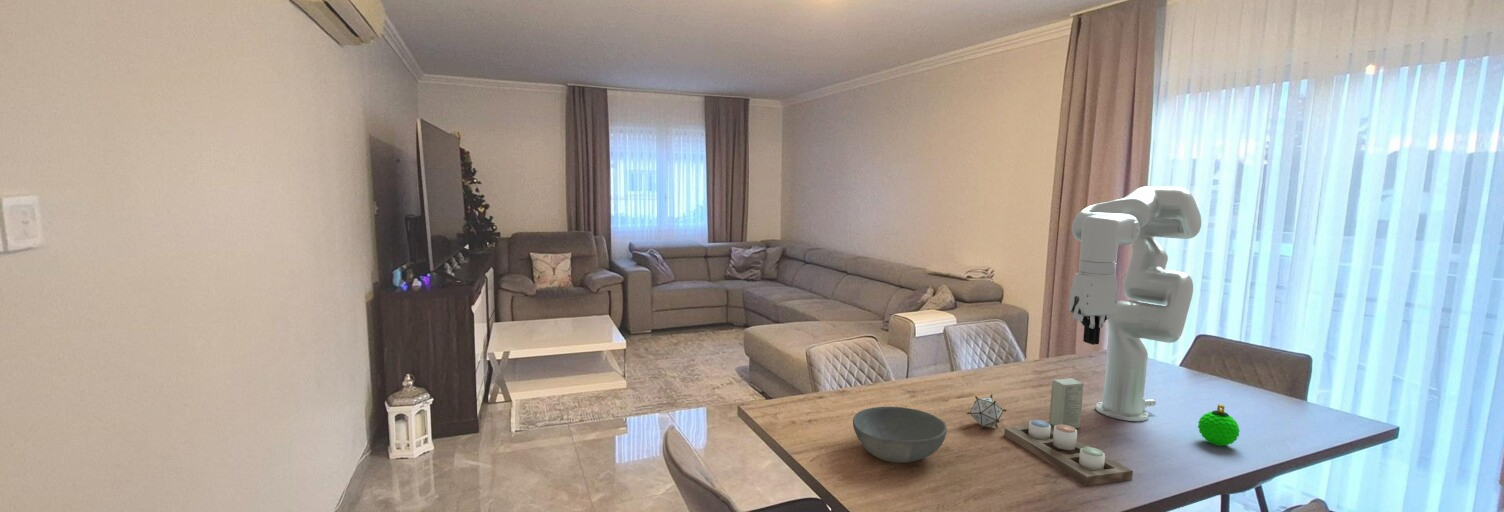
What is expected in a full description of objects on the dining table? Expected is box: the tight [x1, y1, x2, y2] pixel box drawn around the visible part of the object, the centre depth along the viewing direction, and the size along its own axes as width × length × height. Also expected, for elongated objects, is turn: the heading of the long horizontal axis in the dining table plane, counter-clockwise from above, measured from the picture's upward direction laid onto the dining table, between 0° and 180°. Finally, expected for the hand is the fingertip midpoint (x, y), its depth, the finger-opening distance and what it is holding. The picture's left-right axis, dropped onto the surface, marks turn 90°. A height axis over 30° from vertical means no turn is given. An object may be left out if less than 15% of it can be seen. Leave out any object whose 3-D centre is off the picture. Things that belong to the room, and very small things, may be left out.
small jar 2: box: [1053, 424, 1078, 451], centre depth 141 cm, size 5×5×4 cm
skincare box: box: [1048, 377, 1084, 429], centre depth 159 cm, size 6×4×12 cm
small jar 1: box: [1028, 419, 1052, 440], centre depth 149 cm, size 5×5×4 cm
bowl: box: [852, 406, 948, 464], centre depth 139 cm, size 21×21×8 cm
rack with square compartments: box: [1003, 424, 1134, 487], centre depth 141 cm, size 12×26×2 cm, turn 15°
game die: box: [966, 393, 1008, 431], centre depth 157 cm, size 9×8×10 cm
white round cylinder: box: [1079, 446, 1106, 471], centre depth 133 cm, size 5×5×4 cm
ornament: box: [1197, 404, 1241, 447], centre depth 149 cm, size 8×8×10 cm
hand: (1090, 342), depth 147 cm, fingers closed
